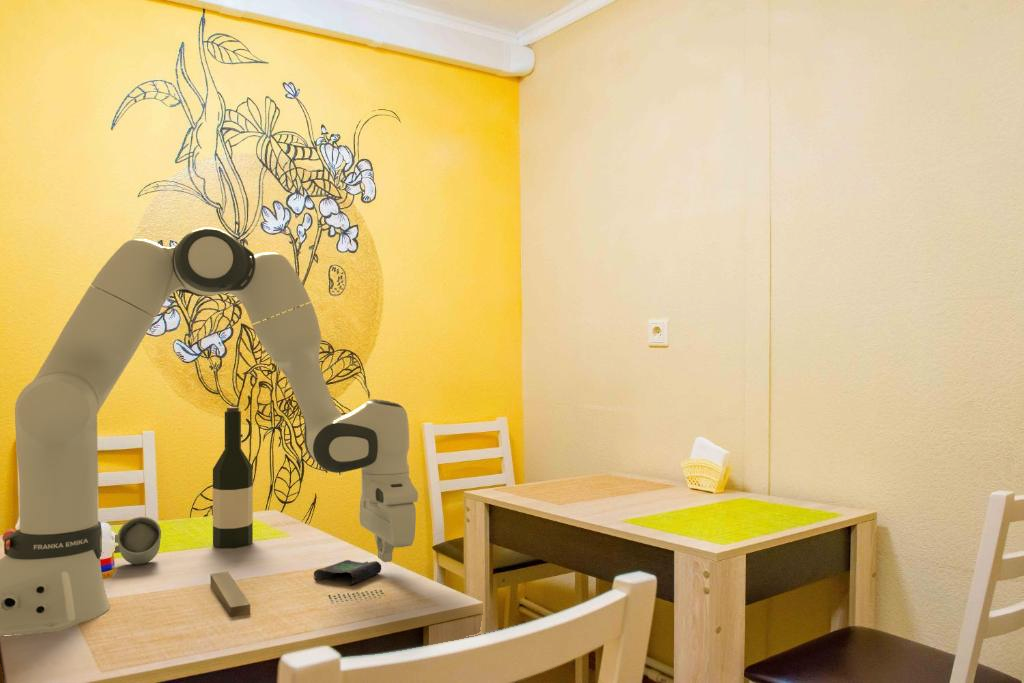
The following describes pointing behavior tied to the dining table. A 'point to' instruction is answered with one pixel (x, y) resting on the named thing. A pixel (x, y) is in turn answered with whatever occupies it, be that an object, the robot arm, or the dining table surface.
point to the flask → (350, 570)
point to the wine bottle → (232, 489)
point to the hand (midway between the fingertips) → (385, 560)
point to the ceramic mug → (138, 540)
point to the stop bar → (229, 594)
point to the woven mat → (355, 596)
